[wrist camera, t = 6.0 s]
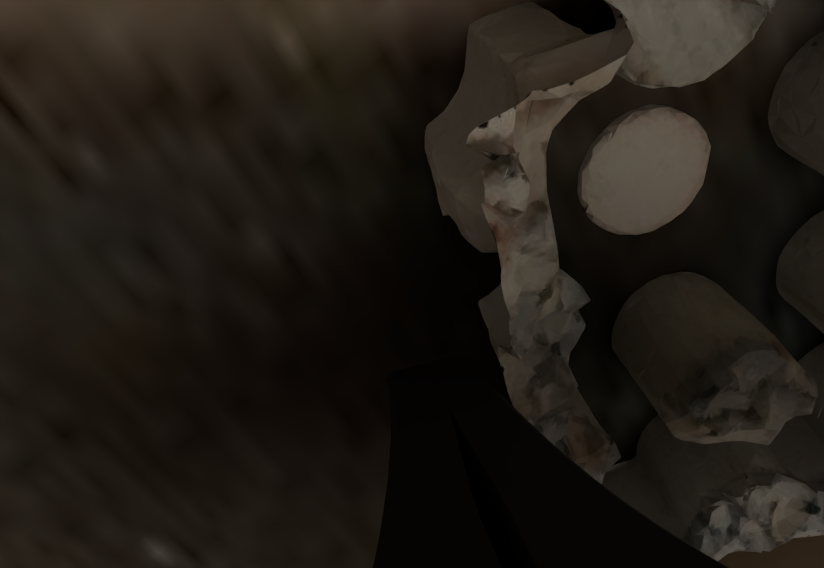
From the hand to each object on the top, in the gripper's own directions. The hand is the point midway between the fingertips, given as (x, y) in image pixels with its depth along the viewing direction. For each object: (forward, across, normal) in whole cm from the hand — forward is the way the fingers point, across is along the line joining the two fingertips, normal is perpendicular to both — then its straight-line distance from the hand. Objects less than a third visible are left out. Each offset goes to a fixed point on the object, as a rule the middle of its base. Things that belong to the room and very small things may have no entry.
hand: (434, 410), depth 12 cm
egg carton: (+2, -5, -1) cm, 5 cm away
